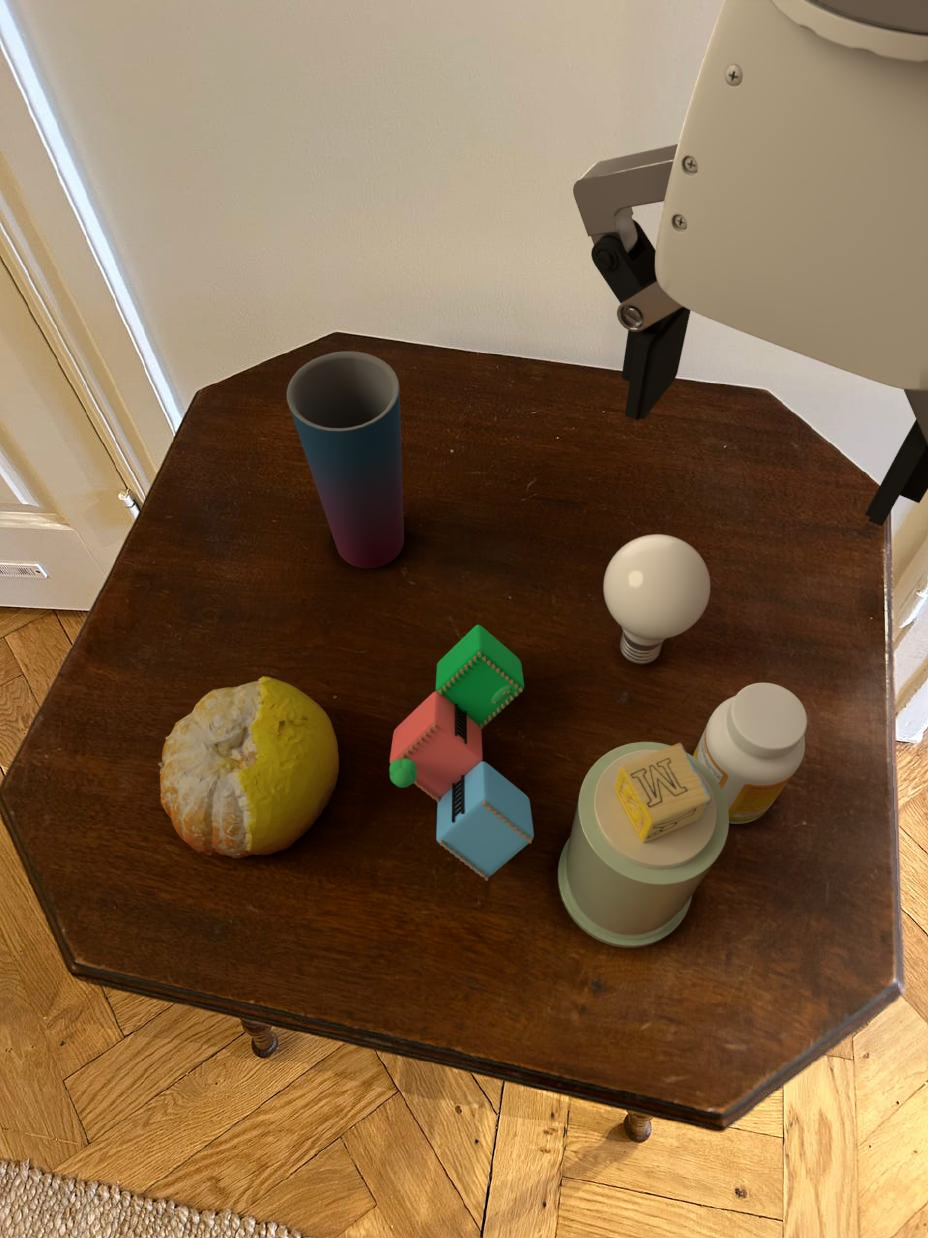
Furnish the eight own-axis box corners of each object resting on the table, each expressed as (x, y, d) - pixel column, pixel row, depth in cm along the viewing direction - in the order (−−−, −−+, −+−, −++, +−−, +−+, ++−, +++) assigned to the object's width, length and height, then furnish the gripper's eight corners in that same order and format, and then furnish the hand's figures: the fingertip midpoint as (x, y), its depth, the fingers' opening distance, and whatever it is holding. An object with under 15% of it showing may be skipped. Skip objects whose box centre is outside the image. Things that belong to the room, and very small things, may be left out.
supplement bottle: (785, 769, 57) (836, 697, 49) (754, 842, 54) (801, 779, 46) (705, 730, 58) (740, 654, 50) (671, 799, 56) (702, 731, 48)
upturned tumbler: (714, 863, 54) (766, 786, 44) (649, 977, 50) (689, 922, 40) (601, 792, 56) (625, 703, 46) (531, 895, 53) (541, 824, 43)
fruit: (228, 673, 61) (231, 623, 54) (360, 754, 61) (381, 715, 54) (121, 814, 55) (109, 779, 48) (267, 904, 55) (276, 882, 48)
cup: (406, 584, 65) (386, 436, 52) (314, 573, 66) (273, 424, 53) (423, 510, 69) (409, 356, 56) (336, 501, 69) (302, 346, 57)
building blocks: (481, 771, 62) (486, 885, 51) (392, 699, 60) (377, 801, 49) (564, 696, 60) (587, 798, 49) (474, 618, 58) (478, 706, 47)
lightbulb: (574, 635, 62) (588, 537, 53) (651, 599, 64) (679, 498, 55) (624, 708, 59) (649, 618, 50) (704, 668, 61) (743, 573, 51)
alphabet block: (701, 822, 43) (714, 798, 40) (642, 846, 42) (652, 824, 40) (669, 766, 44) (680, 739, 42) (612, 789, 44) (619, 763, 41)
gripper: (1421, -74, 19) (1025, 474, 33) (675, -206, 25) (612, 311, 39) (1374, 92, 16) (958, 618, 30) (529, -104, 21) (519, 419, 36)
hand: (763, 445), depth 35 cm, fingers open, 9 cm apart
